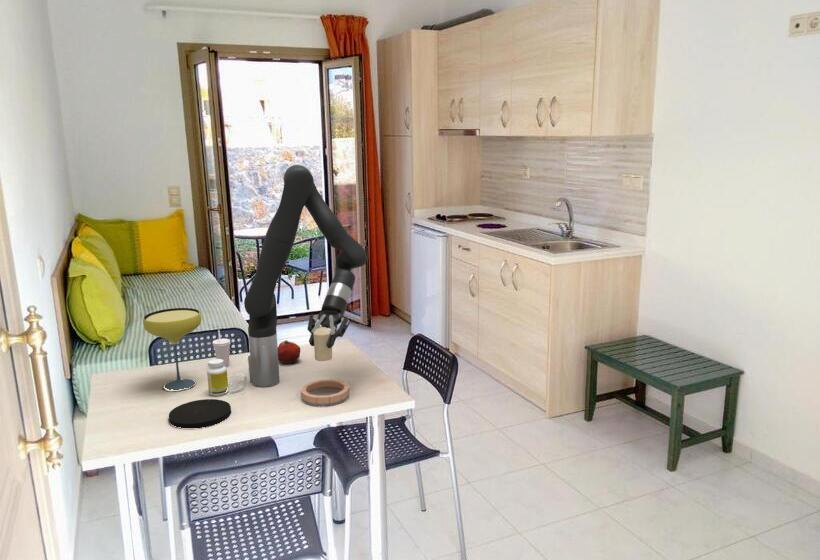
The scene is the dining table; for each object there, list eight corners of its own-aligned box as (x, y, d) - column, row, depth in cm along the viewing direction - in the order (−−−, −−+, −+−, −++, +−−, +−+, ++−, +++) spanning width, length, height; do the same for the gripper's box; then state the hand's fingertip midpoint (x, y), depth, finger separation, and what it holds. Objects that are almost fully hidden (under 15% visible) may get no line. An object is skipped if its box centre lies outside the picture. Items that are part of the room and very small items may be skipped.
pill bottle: (232, 391, 211) (230, 359, 209) (218, 398, 206) (215, 365, 204) (219, 388, 215) (216, 356, 212) (205, 394, 209) (202, 362, 207)
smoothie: (214, 364, 238) (211, 328, 235) (232, 362, 239) (229, 326, 236) (214, 370, 232) (211, 333, 229) (233, 368, 233) (229, 331, 230)
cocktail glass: (138, 392, 212) (130, 320, 206) (174, 374, 229) (167, 306, 223) (184, 398, 206) (176, 324, 201) (217, 379, 223) (211, 309, 217)
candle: (329, 361, 199) (327, 331, 197) (312, 361, 200) (310, 330, 198) (334, 355, 205) (333, 325, 202) (318, 355, 206) (316, 325, 204)
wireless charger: (242, 416, 193) (241, 410, 192) (185, 435, 181) (185, 429, 180) (213, 400, 205) (213, 394, 205) (159, 417, 193) (158, 411, 193)
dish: (292, 401, 202) (291, 392, 202) (320, 385, 215) (319, 376, 214) (331, 409, 195) (331, 400, 195) (357, 392, 208) (357, 383, 208)
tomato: (293, 356, 245) (292, 336, 243) (306, 362, 238) (304, 341, 237) (271, 361, 239) (270, 341, 238) (283, 367, 232) (282, 346, 231)
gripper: (313, 292, 208) (295, 338, 200) (352, 295, 202) (335, 342, 194) (322, 304, 214) (305, 349, 206) (360, 307, 208) (344, 354, 200)
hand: (320, 345), depth 200 cm, fingers closed on candle, 5 cm apart
